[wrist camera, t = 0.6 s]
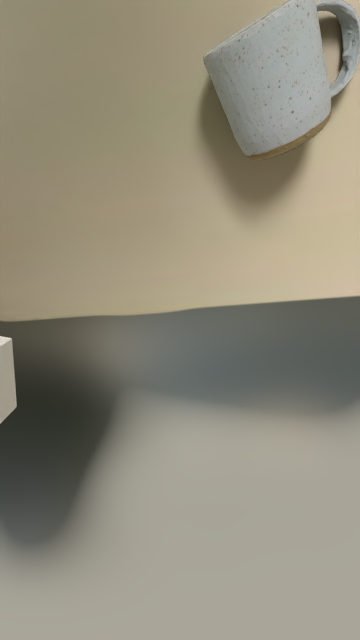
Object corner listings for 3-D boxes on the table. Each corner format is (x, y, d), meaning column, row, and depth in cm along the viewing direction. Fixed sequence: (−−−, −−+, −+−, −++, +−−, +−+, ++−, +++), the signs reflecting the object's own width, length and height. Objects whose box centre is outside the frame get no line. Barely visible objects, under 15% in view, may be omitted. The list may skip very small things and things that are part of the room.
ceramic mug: (242, 154, 31) (248, 177, 25) (203, 55, 27) (199, 54, 21) (365, 87, 27) (407, 95, 21) (341, -39, 23) (385, -74, 17)
